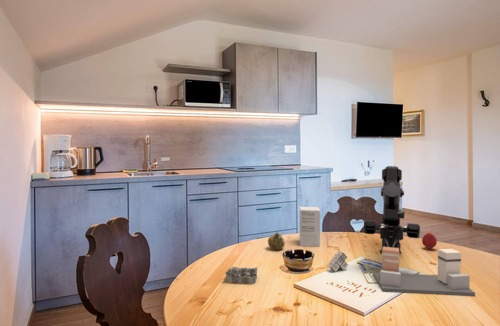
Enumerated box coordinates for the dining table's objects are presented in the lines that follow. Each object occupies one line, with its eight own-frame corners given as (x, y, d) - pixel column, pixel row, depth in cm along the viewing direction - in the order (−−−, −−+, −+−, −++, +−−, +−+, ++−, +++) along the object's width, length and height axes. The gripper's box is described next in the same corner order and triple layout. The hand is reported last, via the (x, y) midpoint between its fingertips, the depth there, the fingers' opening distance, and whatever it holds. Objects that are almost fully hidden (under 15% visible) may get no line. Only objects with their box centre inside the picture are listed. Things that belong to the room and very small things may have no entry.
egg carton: (224, 283, 116) (223, 271, 115) (229, 275, 123) (229, 264, 123) (255, 285, 114) (255, 273, 114) (258, 277, 121) (258, 265, 121)
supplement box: (299, 240, 168) (299, 206, 167) (318, 241, 166) (319, 206, 166) (299, 246, 158) (299, 209, 158) (320, 246, 157) (320, 210, 156)
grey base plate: (372, 275, 122) (372, 261, 122) (453, 278, 119) (454, 264, 119) (382, 291, 108) (382, 275, 108) (474, 295, 105) (475, 279, 105)
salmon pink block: (382, 275, 118) (382, 246, 118) (398, 277, 116) (399, 248, 116) (381, 279, 115) (382, 249, 114) (398, 281, 113) (399, 251, 112)
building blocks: (339, 276, 126) (352, 259, 128) (331, 267, 124) (344, 250, 126) (330, 271, 131) (342, 255, 133) (322, 263, 129) (335, 246, 131)
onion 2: (288, 248, 155) (288, 230, 155) (280, 252, 148) (280, 234, 148) (273, 245, 159) (273, 228, 159) (265, 250, 152) (264, 232, 152)
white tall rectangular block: (437, 279, 115) (438, 249, 114) (451, 278, 115) (452, 248, 115) (445, 283, 111) (446, 253, 110) (460, 282, 111) (461, 252, 111)
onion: (438, 251, 150) (438, 233, 149) (424, 250, 151) (424, 232, 150) (434, 247, 155) (434, 230, 155) (420, 247, 156) (420, 229, 156)
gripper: (364, 198, 129) (361, 235, 119) (420, 201, 122) (422, 240, 112) (365, 215, 136) (363, 251, 127) (418, 219, 129) (419, 257, 120)
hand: (390, 249), depth 121 cm, fingers closed
